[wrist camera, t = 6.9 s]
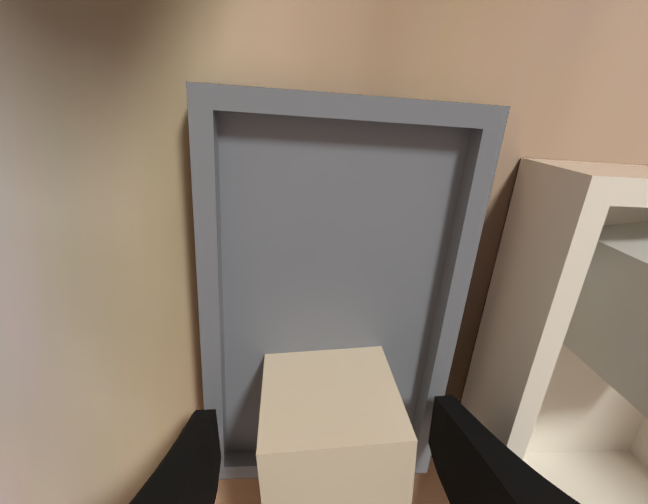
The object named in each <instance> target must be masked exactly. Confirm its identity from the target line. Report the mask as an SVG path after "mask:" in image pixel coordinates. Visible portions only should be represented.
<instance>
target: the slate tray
mask: <svg viewBox="0 0 648 504" xmlns="http://www.w3.org/2000/svg"><path fill="white" fill-rule="evenodd" d="M186 88H187V106H188V125H189V143H190V162H191V180H192V199H193V217H194V236H195V254H196V272H197V291H198V309H199V328H200V346H201V365H202V383H203V402H204V410H209V409H216V415H217V423H218V432H219V440H220V449H221V465H220V473H219V479H245V478H259V477H258V468H257V459H256V449H257V438H258V426H259V415H260V403H261V392H262V380H263V369H264V357H265V354H275V353H289V352H304V351H318V350H333V349H347V348H362V347H377V346H382V349H383V351H384V354H385V357H386V359H387V362H388V364H389V367H390V370H391V372H392V375H393V377H394V380H395V383H396V385H397V388H398V391H399V393H400V396H401V398H402V401H403V404H404V406H405V409H406V412H407V414H408V417H409V419H410V422H411V425H412V427H413V430H414V432H415V435H416V438H417V440H418V442H417V453H416V464H415V473H427V471H428V467H429V462H430V458H431V450H430V447H429V444H428V440H429V433H430V426H431V418H432V411H433V404H434V397H435V396H445V392H446V387H447V383H448V378H449V374H450V370H451V365H452V361H453V356H454V352H455V348H456V343H457V339H458V334H459V330H460V326H461V321H462V317H463V312H464V308H465V303H466V299H467V295H468V290H469V286H470V281H471V277H472V273H473V268H474V264H475V259H476V255H477V251H478V246H479V242H480V237H481V233H482V229H483V224H484V220H485V215H486V211H487V207H488V202H489V198H490V193H491V189H492V185H493V180H494V176H495V171H496V167H497V162H498V158H499V154H500V149H501V145H502V140H503V136H504V132H505V127H506V123H507V118H508V114H509V110H510V106H498V105H485V104H472V103H459V102H446V101H433V100H420V99H407V98H394V97H381V96H368V95H355V94H342V93H328V92H315V91H302V90H289V89H276V88H263V87H250V86H237V85H224V84H211V83H198V82H186Z"/></svg>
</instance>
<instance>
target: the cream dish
mask: <svg viewBox="0 0 648 504" xmlns="http://www.w3.org/2000/svg"><path fill="white" fill-rule="evenodd" d="M645 221H648V165H632V164H616V163H600V162H584V161H568V160H551V159H535V158H521V161H520V165H519V169H518V173H517V177H516V181H515V185H514V189H513V193H512V198H511V202H510V206H509V210H508V214H507V218H506V222H505V226H504V230H503V234H502V238H501V242H500V246H499V250H498V254H497V258H496V262H495V266H494V270H493V274H492V278H491V282H490V286H489V290H488V294H487V298H486V302H485V307H484V311H483V315H482V319H481V323H480V327H479V331H478V335H477V339H476V343H475V347H474V351H473V355H472V359H471V363H470V367H469V371H468V375H467V379H466V383H465V387H464V391H463V395H462V399H461V404H462V405H463V406H464V407H465V408H466V409H467V410H468V411H469V412H470V413H471V414H472V415H473V416H474V417H475V418H476V419H478V420H479V421H480V422H481V423H482V424H483V425H484V426H485V427H486V428H487V429H488V430H489V431H490V432H491V433H492V434H493V435H495V436H496V437H497V438H498V439H499V440H500V441H501V442H502V443H503V444H504V445H506V446H507V447H508V448H509V449H510V450H511V451H512V452H514V453H515V454H516V455H517V456H518V457H520V458H521V459H522V460H523V461H524V462H526V463H527V464H528V465H529V466H530V467H532V468H533V469H534V470H535V471H537V472H538V473H539V474H540V475H542V476H543V477H544V478H546V479H547V480H548V481H550V482H551V483H552V484H554V485H555V486H556V487H558V488H559V489H561V490H562V491H563V492H565V493H566V494H567V495H569V496H570V497H572V498H573V499H575V500H576V501H578V502H579V503H580V504H648V419H647V418H646V417H645V416H644V415H643V414H642V413H641V412H639V411H638V410H637V409H636V408H635V407H634V406H633V405H632V404H630V403H629V402H628V401H627V400H626V399H625V398H624V397H623V396H621V395H620V394H619V393H618V392H617V391H616V390H615V389H614V388H612V387H611V386H610V385H609V384H608V383H607V382H606V381H605V380H603V379H602V378H601V377H600V376H599V375H598V374H597V373H596V372H594V371H593V370H592V369H591V368H590V367H589V366H588V365H586V364H585V363H584V362H583V361H582V360H581V359H580V358H579V357H577V356H576V355H575V354H574V353H573V352H572V351H571V350H570V349H568V348H567V347H566V346H565V345H564V344H563V341H564V338H565V335H566V333H567V330H568V327H569V324H570V321H571V318H572V315H573V312H574V309H575V306H576V303H577V301H578V298H579V295H580V292H581V289H582V286H583V283H584V280H585V277H586V274H587V271H588V268H589V266H590V263H591V260H592V257H593V254H594V251H595V248H596V245H597V242H598V239H599V236H600V234H601V231H602V228H603V226H605V225H615V224H625V223H635V222H645Z"/></svg>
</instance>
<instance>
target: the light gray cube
mask: <svg viewBox="0 0 648 504" xmlns="http://www.w3.org/2000/svg"><path fill="white" fill-rule="evenodd" d="M563 344H564V345H565V346H566V347H567V348H568V349H570V350H571V351H572V352H573V353H574V354H575V355H576V356H577V357H579V358H580V359H581V360H582V361H583V362H584V363H585V364H586V365H588V366H589V367H590V368H591V369H592V370H593V371H594V372H596V373H597V374H598V375H599V376H600V377H601V378H602V379H603V380H605V381H606V382H607V383H608V384H609V385H610V386H611V387H612V388H614V389H615V390H616V391H617V392H618V393H619V394H620V395H621V396H623V397H624V398H625V399H626V400H627V401H628V402H629V403H630V404H632V405H633V406H634V407H635V408H636V409H637V410H638V411H639V412H641V413H642V414H643V415H644V416H645V417H646V418H647V419H648V221H645V222H635V223H625V224H615V225H605V226H603V228H602V231H601V234H600V236H599V239H598V242H597V245H596V248H595V251H594V254H593V257H592V260H591V263H590V266H589V268H588V271H587V274H586V277H585V280H584V283H583V286H582V289H581V292H580V295H579V298H578V301H577V303H576V306H575V309H574V312H573V315H572V318H571V321H570V324H569V327H568V330H567V333H566V335H565V338H564V341H563Z"/></svg>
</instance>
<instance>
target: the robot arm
mask: <svg viewBox="0 0 648 504" xmlns="http://www.w3.org/2000/svg"><path fill="white" fill-rule="evenodd" d="M428 444H429V447H430V450H431V454H432V457H433V461H434V464H435V467H436V470H437V473H438V476H439V478H440V481H441V483H442V485H443V488H444V490H445V492H446V495H447V497H448V499H449V502H450V504H580V503H579V502H578V501H576V500H575V499H573V498H572V497H570V496H569V495H567V494H566V493H565V492H563V491H562V490H561V489H559V488H558V487H556V486H555V485H554V484H552V483H551V482H550V481H548V480H547V479H546V478H544V477H543V476H542V475H540V474H539V473H538V472H537V471H535V470H534V469H533V468H532V467H530V466H529V465H528V464H527V463H526V462H524V461H523V460H522V459H521V458H520V457H518V456H517V455H516V454H515V453H514V452H512V451H511V450H510V449H509V448H508V447H507V446H506V445H504V444H503V443H502V442H501V441H500V440H499V439H498V438H497V437H496V436H495V435H493V434H492V433H491V432H490V431H489V430H488V429H487V428H486V427H485V426H484V425H483V424H482V423H481V422H480V421H479V420H478V419H476V418H475V417H474V416H473V415H472V414H471V413H470V412H469V411H468V410H467V409H466V408H465V407H464V406H463V405H462V404H461V403H460V402H459V401H458V400H457V399H456V398H455V397H454V396H453V395H447V396H435V397H434V404H433V411H432V418H431V426H430V433H429V440H428ZM220 465H221V449H220V440H219V432H218V423H217V415H216V409H209V410H196V411H195V412H194V413H193V414H192V416H191V418H190V419H189V421H188V423H187V424H186V426H185V427H184V429H183V431H182V432H181V434H180V435H179V437H178V438H177V440H176V441H175V443H174V444H173V446H172V447H171V449H170V450H169V452H168V453H167V455H166V456H165V457H164V459H163V460H162V462H161V463H160V464H159V466H158V467H157V469H156V470H155V471H154V473H153V474H152V475H151V477H150V478H149V479H148V480H147V482H146V483H145V484H144V486H143V487H142V488H141V489H140V491H139V492H138V493H137V495H136V496H135V497H134V498H133V500H132V501H131V502H130V503H129V504H214V503H215V499H216V494H217V489H218V481H219V473H220Z"/></svg>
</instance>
